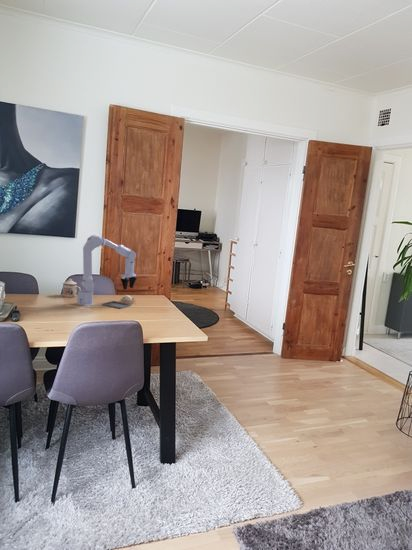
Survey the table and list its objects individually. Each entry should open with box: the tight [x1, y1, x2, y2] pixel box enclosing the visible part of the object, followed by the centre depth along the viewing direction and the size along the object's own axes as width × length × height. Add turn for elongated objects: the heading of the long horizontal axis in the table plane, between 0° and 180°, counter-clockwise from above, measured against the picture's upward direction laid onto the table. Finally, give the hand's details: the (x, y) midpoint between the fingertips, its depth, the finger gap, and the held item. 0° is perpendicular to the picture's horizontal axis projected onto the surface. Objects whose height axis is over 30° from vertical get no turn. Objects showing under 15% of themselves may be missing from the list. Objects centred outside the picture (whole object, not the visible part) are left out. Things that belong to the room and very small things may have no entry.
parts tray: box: [101, 300, 132, 310], centre depth 271 cm, size 12×14×2 cm
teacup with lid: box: [62, 278, 82, 298], centre depth 286 cm, size 12×9×12 cm
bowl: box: [119, 296, 137, 305], centre depth 283 cm, size 10×10×3 cm
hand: (128, 288), depth 281 cm, fingers open, 7 cm apart
